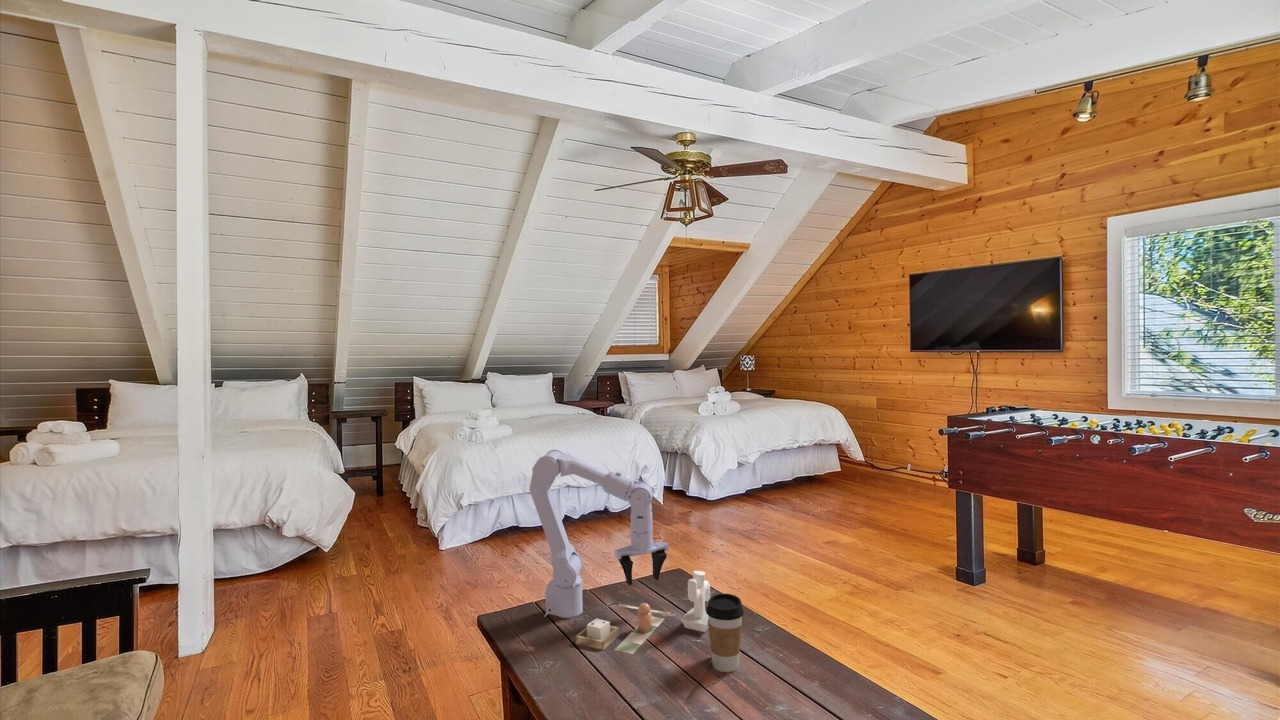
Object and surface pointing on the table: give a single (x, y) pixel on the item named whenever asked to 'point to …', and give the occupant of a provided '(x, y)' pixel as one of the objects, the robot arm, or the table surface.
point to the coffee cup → (725, 631)
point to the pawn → (644, 618)
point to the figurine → (697, 603)
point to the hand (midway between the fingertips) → (642, 581)
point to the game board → (614, 633)
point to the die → (598, 629)
